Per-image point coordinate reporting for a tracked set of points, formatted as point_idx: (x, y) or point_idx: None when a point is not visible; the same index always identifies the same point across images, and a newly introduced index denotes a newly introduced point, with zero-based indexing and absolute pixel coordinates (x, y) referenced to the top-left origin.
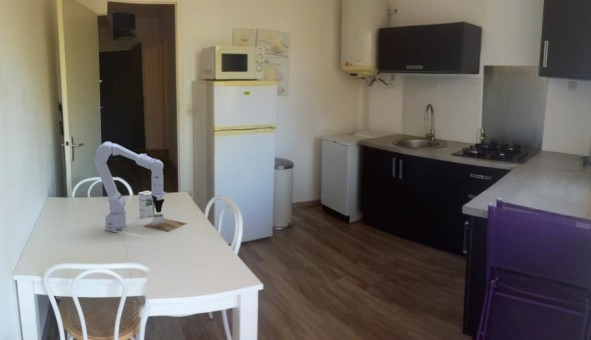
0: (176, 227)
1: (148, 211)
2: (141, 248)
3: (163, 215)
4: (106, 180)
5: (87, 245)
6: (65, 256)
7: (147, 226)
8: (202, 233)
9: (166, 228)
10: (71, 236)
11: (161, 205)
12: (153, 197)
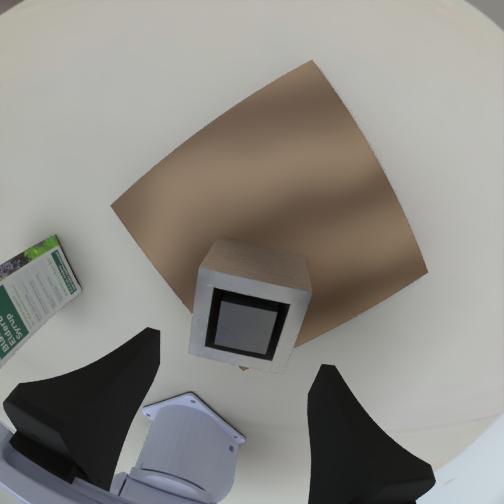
0: (377, 182)
1: (44, 295)
2: (466, 391)
3: (260, 284)
4: None
5: None
6: None
7: None
8: (481, 71)
9: (361, 258)
10: None
11: (374, 430)
12: (110, 470)
